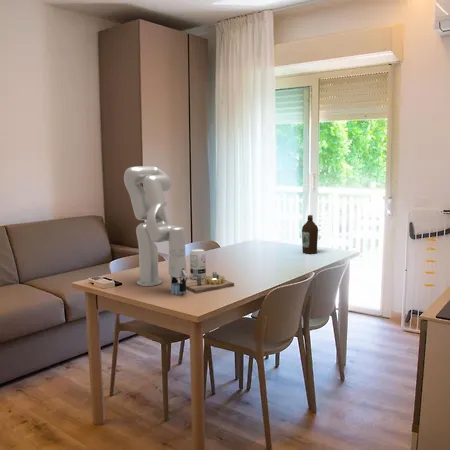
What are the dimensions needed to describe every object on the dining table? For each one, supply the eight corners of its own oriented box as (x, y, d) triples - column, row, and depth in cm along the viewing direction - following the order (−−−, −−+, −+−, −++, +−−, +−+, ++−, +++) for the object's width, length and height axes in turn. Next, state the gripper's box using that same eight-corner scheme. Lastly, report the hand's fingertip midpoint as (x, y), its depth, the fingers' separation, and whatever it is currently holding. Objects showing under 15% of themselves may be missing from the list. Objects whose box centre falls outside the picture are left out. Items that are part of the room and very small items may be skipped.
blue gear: (168, 292, 233) (168, 283, 232) (181, 289, 237) (181, 281, 236) (175, 295, 227) (175, 287, 226) (189, 293, 231) (188, 284, 230)
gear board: (181, 287, 242) (181, 274, 241) (218, 280, 254) (218, 268, 253) (195, 293, 230) (195, 280, 229) (234, 286, 242) (234, 273, 241)
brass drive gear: (201, 281, 245) (201, 272, 244) (217, 279, 251) (217, 269, 250) (211, 286, 237) (211, 276, 236) (228, 282, 242) (228, 273, 242)
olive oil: (310, 250, 330) (310, 214, 326) (321, 253, 321) (321, 215, 317) (298, 252, 324) (298, 215, 321) (309, 255, 315) (309, 216, 312)
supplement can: (190, 276, 263) (189, 248, 261) (205, 275, 264) (205, 248, 262) (190, 280, 255) (189, 251, 253) (206, 279, 256) (205, 251, 253)
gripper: (161, 251, 235) (163, 287, 237) (179, 256, 220) (180, 294, 222) (175, 249, 239) (177, 284, 241) (193, 254, 224) (194, 292, 226)
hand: (178, 289), depth 232 cm, fingers closed on blue gear, 7 cm apart
